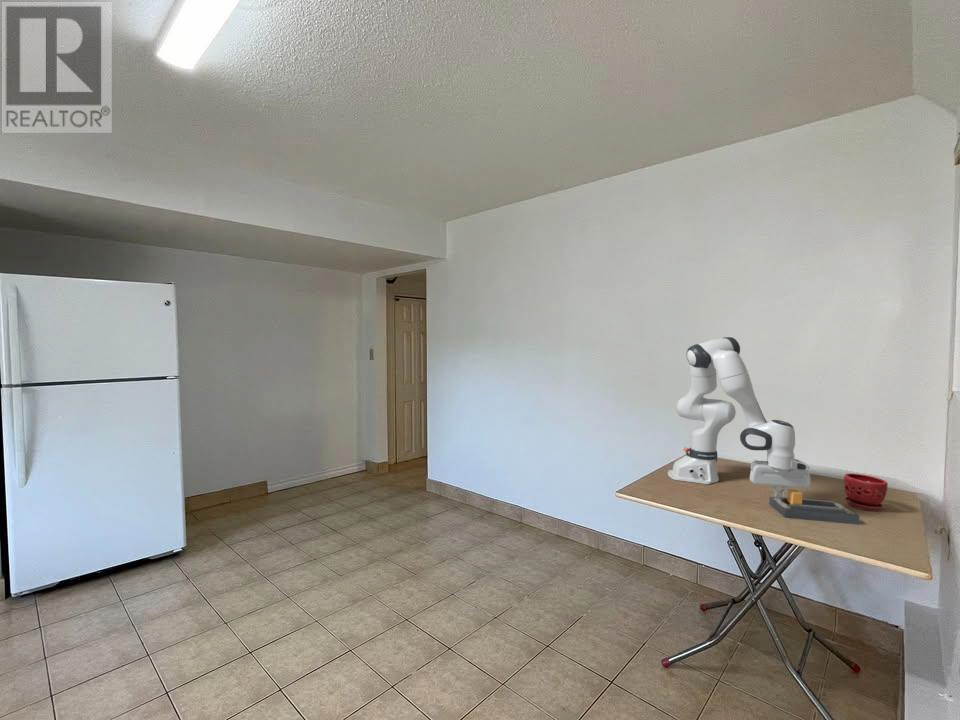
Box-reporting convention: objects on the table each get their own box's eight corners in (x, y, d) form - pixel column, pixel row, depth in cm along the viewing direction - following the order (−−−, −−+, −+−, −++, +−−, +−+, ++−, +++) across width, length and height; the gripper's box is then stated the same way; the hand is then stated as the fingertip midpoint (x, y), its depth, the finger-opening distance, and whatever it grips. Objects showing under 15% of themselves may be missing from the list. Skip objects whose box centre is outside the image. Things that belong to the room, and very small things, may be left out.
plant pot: (881, 515, 167) (882, 485, 167) (838, 504, 178) (840, 476, 177) (889, 508, 175) (891, 479, 174) (848, 498, 186) (849, 470, 185)
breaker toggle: (793, 505, 168) (793, 493, 167) (787, 501, 172) (787, 488, 172) (801, 506, 167) (802, 493, 167) (795, 501, 172) (796, 489, 172)
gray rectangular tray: (784, 517, 164) (785, 506, 164) (769, 503, 178) (769, 493, 178) (858, 524, 159) (859, 513, 159) (836, 509, 173) (837, 499, 172)
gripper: (753, 462, 169) (752, 496, 170) (813, 466, 165) (812, 502, 165) (747, 457, 176) (746, 491, 176) (805, 461, 171) (803, 496, 172)
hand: (778, 496), depth 171 cm, fingers closed
